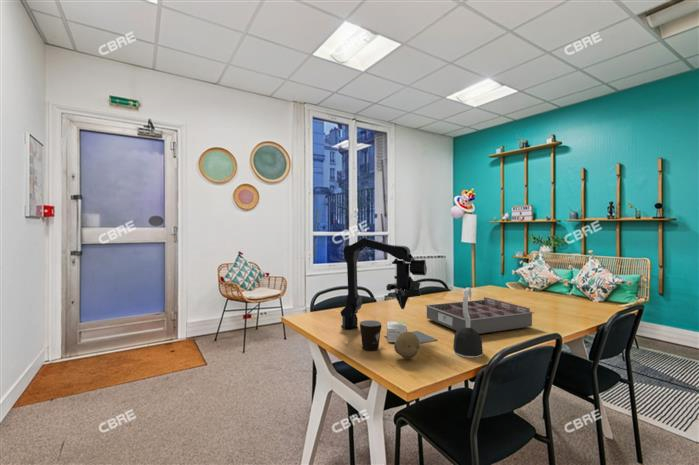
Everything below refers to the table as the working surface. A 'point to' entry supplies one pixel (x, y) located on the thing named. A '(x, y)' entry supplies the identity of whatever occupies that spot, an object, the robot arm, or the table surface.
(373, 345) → the coffee mug
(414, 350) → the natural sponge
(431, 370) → the table surface
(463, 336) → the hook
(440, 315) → the organizer tray
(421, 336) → the mat
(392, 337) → the ink box
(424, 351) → the table surface
